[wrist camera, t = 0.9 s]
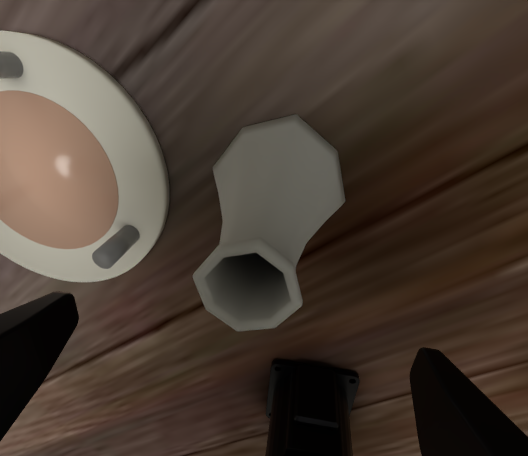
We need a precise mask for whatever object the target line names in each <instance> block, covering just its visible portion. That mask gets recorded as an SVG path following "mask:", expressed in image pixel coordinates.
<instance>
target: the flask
mask: <svg viewBox="0 0 528 456" xmlns="http://www.w3.org/2000/svg"><path fill="white" fill-rule="evenodd" d="M213 173H214V177H215V181H216V185H217V190H218V194H219V200H220V206H221V213H222V219H223V224H222V231H221V237H220V244H219V246H217V248H216V249H215V250H214V251H213V252H212V253H211V254H210V255H209V257H208V258H207V259H206V260H205V261H204V262H203V263H202V264H201V266H200V267H199V268H198V269H197V270H196V271H195V272H194V274H193V279H194V282H195V284H196V287H197V289H198V292H199V294H200V297H201V299H202V302H203V304H204V306H205V309H206V310H207V311H209V312H210V313H211V314H213V315H214V316H216V317H217V318H219V319H220V320H221V321H223V322H224V323H226V324H227V325H229V326H230V327H232V328H233V329H234V330H236V331H248V330H259V329H270V328H276V327H277V326H278V325H279V324H281V323H282V322H283V321H284V320H285V319H287V318H288V317H289V316H290V315H291V314H293V313H294V312H295V311H296V310H297V309H299V308H300V307H301V306H302V303H303V300H302V296H301V292H300V288H299V284H298V280H297V276H296V272H295V271H296V265H297V263H298V260H299V258H300V256H301V254H302V252H303V249H304V247H305V245H306V243H307V242H308V241H309V240H310V238H311V237H312V236H313V235H314V234H315V233H316V232H317V230H318V229H319V228H320V227H321V226H322V225H323V224H324V223H325V221H326V220H327V219H328V218H329V217H330V216H332V215H333V214H334V213H335V212H336V211H337V210H338V209H339V208H340V207H341V206H342V205H343V203H344V202H345V194H344V188H343V182H342V175H341V169H340V163H339V156H338V151H337V150H336V149H335V148H334V147H333V146H331V145H330V144H329V143H328V142H327V141H326V140H325V139H324V138H323V137H321V136H320V135H319V134H318V133H317V132H316V131H315V130H314V129H312V128H311V127H310V126H309V125H308V124H307V123H306V122H305V121H303V120H302V119H301V118H300V117H299V116H298V115H297V114H295V115H291V116H287V117H283V118H278V119H274V120H270V121H266V122H262V123H258V124H254V125H250V126H246V127H243V128H242V129H241V130H240V132H239V133H238V134H237V136H236V137H235V138H234V140H233V141H232V142H231V144H230V145H229V146H228V148H227V149H226V150H225V151H224V153H223V154H222V155H221V157H220V158H219V159H218V161H217V162H216V163H215V165H214V166H213Z"/></svg>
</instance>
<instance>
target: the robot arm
mask: <svg viewBox="0 0 528 456" xmlns="http://www.w3.org/2000/svg"><path fill="white" fill-rule="evenodd" d="M78 320H79V315H78V311H77V307H76V303H75V298H74V296H73V295H72V294H71V293H67V292H61V291H56V292H52V293H50V294H48V295H45V296H43V297H40V298H38V299H36V300H33V301H31V302H28V303H26V304H23V305H21V306H19V307H16V308H14V309H11V310H9V311H7V312H4V313H2V314H0V441H1V440H2V438H3V437H4V436H5V434H6V433H7V431H8V430H9V429H10V427H11V426H12V424H13V423H14V422H15V420H16V419H17V418H18V416H19V415H20V413H21V412H22V411H23V409H24V408H25V406H26V405H27V404H28V402H29V401H30V399H31V398H32V397H33V395H34V394H35V393H36V391H37V390H38V388H39V387H40V386H41V384H42V383H43V381H44V380H45V378H46V377H47V375H48V373H49V372H50V370H51V369H52V367H53V365H54V364H55V362H56V360H57V358H58V357H59V355H60V353H61V352H62V350H63V348H64V347H65V345H66V343H67V342H68V340H69V338H70V336H71V335H72V333H73V331H74V330H75V328H76V326H77V324H78ZM277 366H278V367H277ZM410 384H411V391H412V398H413V405H414V412H415V419H416V426H417V433H418V439H419V445H420V450H421V454H422V456H528V437H527V436H526V435H525V434H524V433H523V432H522V431H521V430H520V429H519V428H518V427H517V426H516V425H515V424H514V423H513V422H512V421H511V420H510V419H509V418H508V417H507V416H506V415H505V414H504V413H503V412H502V411H501V410H500V409H499V408H498V407H497V406H496V405H495V404H494V403H493V402H492V401H491V400H490V399H489V398H488V397H487V396H486V395H485V394H484V393H483V392H481V391H480V390H479V389H478V388H477V387H476V386H475V385H474V384H473V383H472V382H471V381H470V380H469V379H468V378H467V377H466V376H465V375H464V374H463V373H462V372H461V371H460V370H459V369H458V368H457V367H456V366H455V365H454V364H453V363H452V362H451V361H450V360H449V359H448V358H447V357H446V356H445V355H444V354H443V353H442V352H440V351H439V350H436V349H431V348H424V347H423V348H420V349H419V351H418V353H417V355H416V358H415V360H414V363H413V365H412V368H411V371H410ZM358 385H359V375H358V374H357V373H355V372H351V371H344V370H338V369H332V368H326V367H320V366H314V365H307V364H301V363H295V362H289V361H283V360H274V361H273V362H272V365H271V373H270V382H269V391H268V399H267V408H266V416H267V417H268V418H270V424H269V432H268V440H267V447H266V455H265V456H353V453H352V443H351V432H350V422H349V415H350V412H351V409H352V405H353V402H354V399H355V395H356V392H357V389H358Z"/></svg>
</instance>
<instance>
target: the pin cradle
mask: <svg viewBox="0 0 528 456" xmlns="http://www.w3.org/2000/svg"><path fill="white" fill-rule="evenodd" d="M169 203H170V186H169V178H168V171H167V167H166V163H165V159H164V155H163V152H162V150H161V147H160V145H159V142H158V140H157V137H156V135H155V133H154V131H153V129H152V127H151V126H150V124H149V122H148V120H147V118H146V117H145V115H144V114H143V112H142V111H141V109H140V108H139V106H138V105H137V103H136V102H135V101H134V100H133V99H132V97H131V96H130V95H129V94H128V92H127V91H126V90H125V89H124V88H123V87H122V86H121V85H120V84H119V83H118V82H117V81H116V80H115V79H114V78H113V77H112V76H111V75H110V74H109V73H108V72H107V71H105V70H104V69H103V68H102V67H100V66H99V65H98V64H96V63H95V62H94V61H93V60H91V59H90V58H88V57H86V56H85V55H83V54H81V53H80V52H78V51H77V50H75V49H73V48H71V47H69V46H66V45H64V44H62V43H60V42H58V41H55V40H52V39H49V38H45V37H42V36H39V35H34V34H27V33H21V32H12V31H0V253H1V254H2V255H4V256H5V257H7V258H9V259H10V260H12V261H13V262H15V263H17V264H19V265H21V266H23V267H25V268H27V269H29V270H32V271H34V272H36V273H39V274H42V275H45V276H48V277H51V278H55V279H60V280H65V281H72V282H96V281H102V280H107V279H110V278H113V277H117V276H119V275H121V274H123V273H125V272H127V271H128V270H130V269H131V268H133V267H134V266H136V265H137V264H138V263H139V262H140V261H141V260H142V259H143V258H144V257H145V256H146V255H147V253H148V252H149V251H150V250H151V249H152V248H153V246H154V245H155V243H156V242H157V241H158V239H159V237H160V235H161V233H162V231H163V229H164V226H165V223H166V219H167V216H168V210H169Z"/></svg>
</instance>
